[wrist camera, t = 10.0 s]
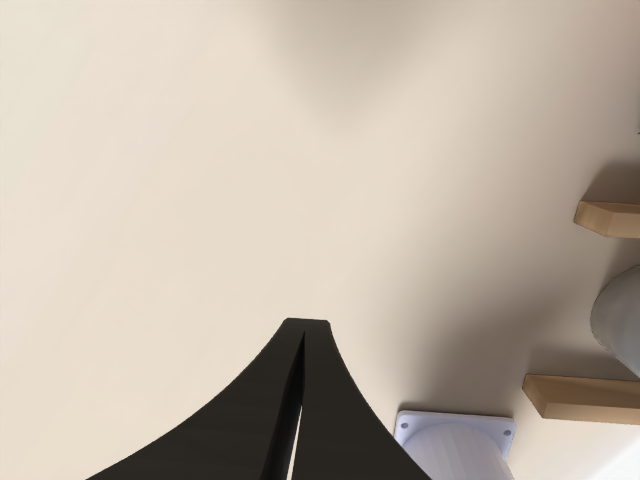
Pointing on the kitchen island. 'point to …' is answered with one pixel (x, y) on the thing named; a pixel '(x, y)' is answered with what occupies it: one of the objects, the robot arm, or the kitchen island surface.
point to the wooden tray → (585, 393)
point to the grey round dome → (620, 318)
